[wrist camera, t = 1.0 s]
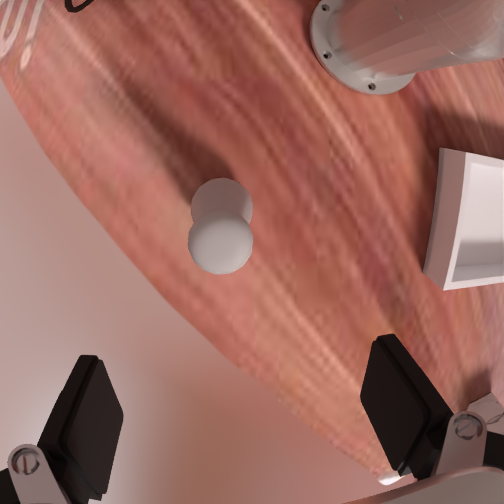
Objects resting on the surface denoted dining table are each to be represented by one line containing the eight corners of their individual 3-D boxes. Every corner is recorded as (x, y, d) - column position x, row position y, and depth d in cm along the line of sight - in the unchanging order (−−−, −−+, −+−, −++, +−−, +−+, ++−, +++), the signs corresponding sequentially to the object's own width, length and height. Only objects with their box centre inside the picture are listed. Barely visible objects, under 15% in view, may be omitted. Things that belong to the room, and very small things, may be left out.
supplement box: (491, 390, 51) (519, 426, 40) (482, 410, 54) (507, 445, 42) (468, 403, 51) (496, 442, 40) (459, 422, 54) (483, 460, 42)
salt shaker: (262, 202, 32) (286, 248, 20) (222, 241, 34) (222, 305, 22) (221, 162, 31) (219, 183, 19) (181, 203, 32) (156, 249, 20)
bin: (439, 147, 31) (465, 152, 27) (529, 166, 33) (552, 173, 28) (422, 272, 37) (443, 290, 33) (512, 264, 39) (531, 277, 34)
